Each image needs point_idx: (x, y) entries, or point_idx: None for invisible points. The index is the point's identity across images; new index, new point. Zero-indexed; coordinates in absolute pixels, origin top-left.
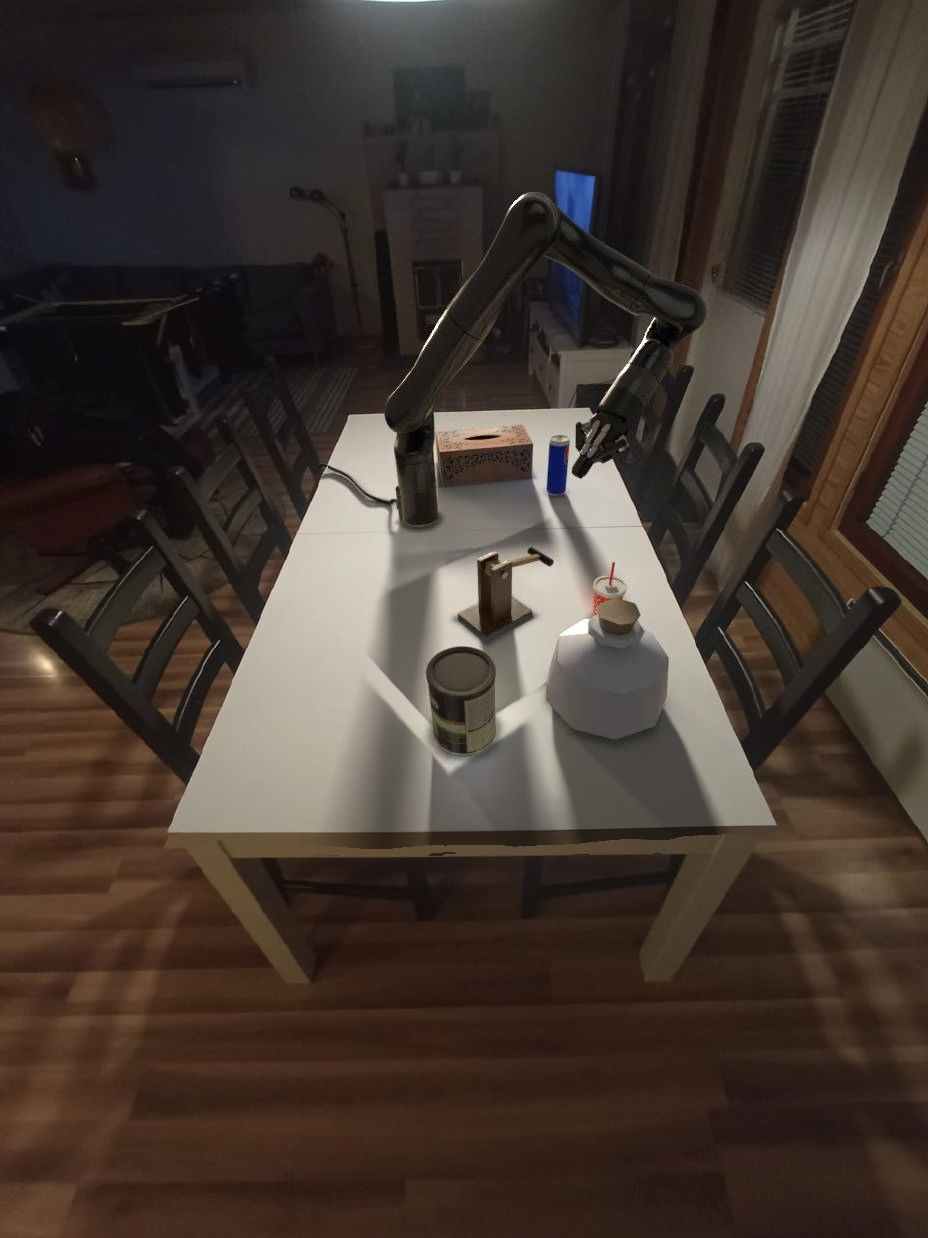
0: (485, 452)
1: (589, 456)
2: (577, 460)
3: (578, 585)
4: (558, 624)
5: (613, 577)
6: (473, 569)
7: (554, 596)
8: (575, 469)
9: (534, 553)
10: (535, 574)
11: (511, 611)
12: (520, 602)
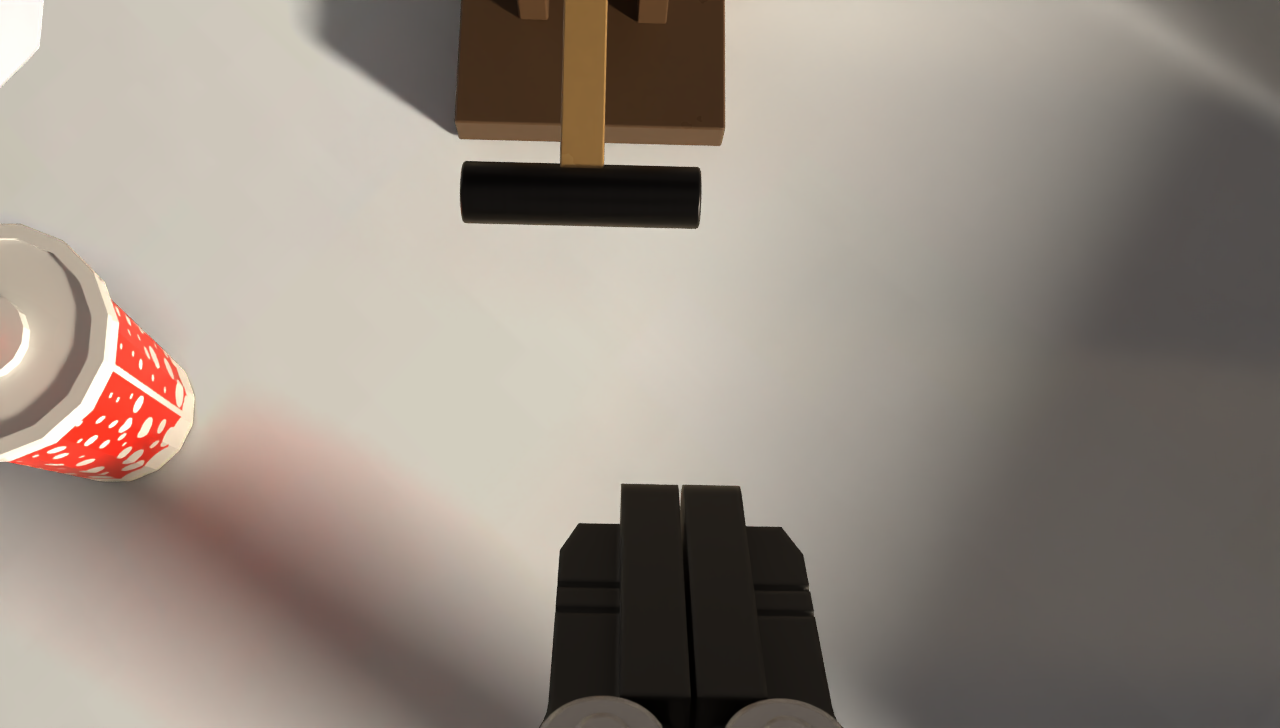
0: None
1: (576, 712)
2: (803, 649)
3: (479, 569)
4: (303, 199)
5: (21, 431)
6: (1057, 183)
7: (504, 366)
8: (689, 508)
9: (623, 165)
10: (760, 441)
11: (535, 33)
12: None
